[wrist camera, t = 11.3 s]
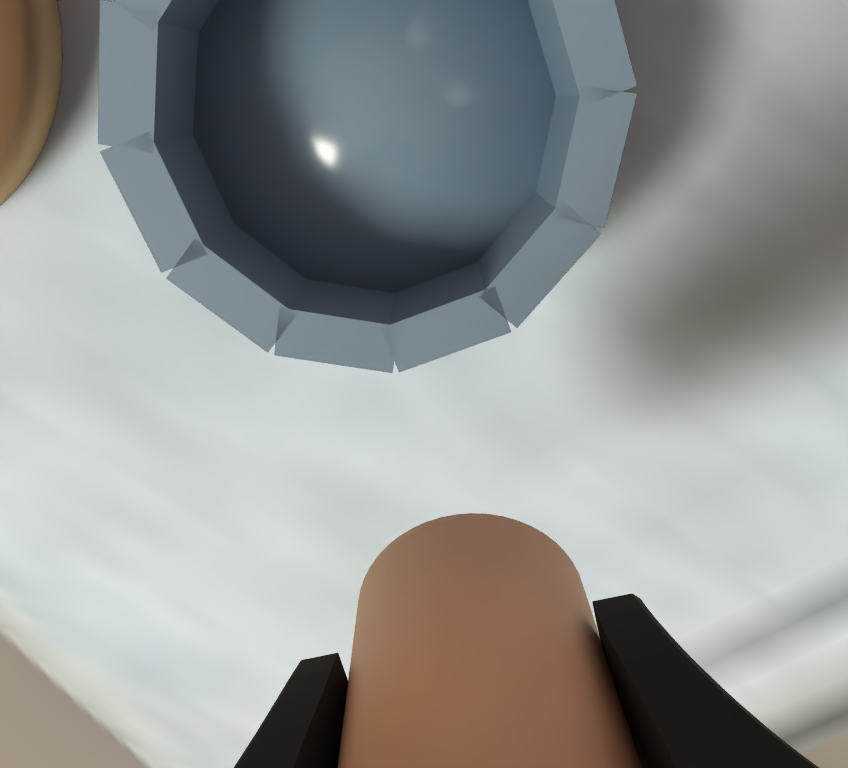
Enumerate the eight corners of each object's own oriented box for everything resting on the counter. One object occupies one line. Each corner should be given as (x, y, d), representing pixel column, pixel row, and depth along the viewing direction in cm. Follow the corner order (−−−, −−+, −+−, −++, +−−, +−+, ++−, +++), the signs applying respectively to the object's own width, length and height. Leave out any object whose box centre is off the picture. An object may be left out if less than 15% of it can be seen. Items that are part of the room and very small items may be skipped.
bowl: (639, -92, 16) (692, -136, 13) (540, 349, 19) (562, 398, 16) (166, -183, 15) (102, -252, 12) (149, 289, 18) (95, 328, 15)
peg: (616, 540, 13) (763, 881, 7) (546, 720, 14) (626, 1120, 9) (385, 491, 13) (356, 809, 7) (338, 679, 14) (280, 1070, 8)
